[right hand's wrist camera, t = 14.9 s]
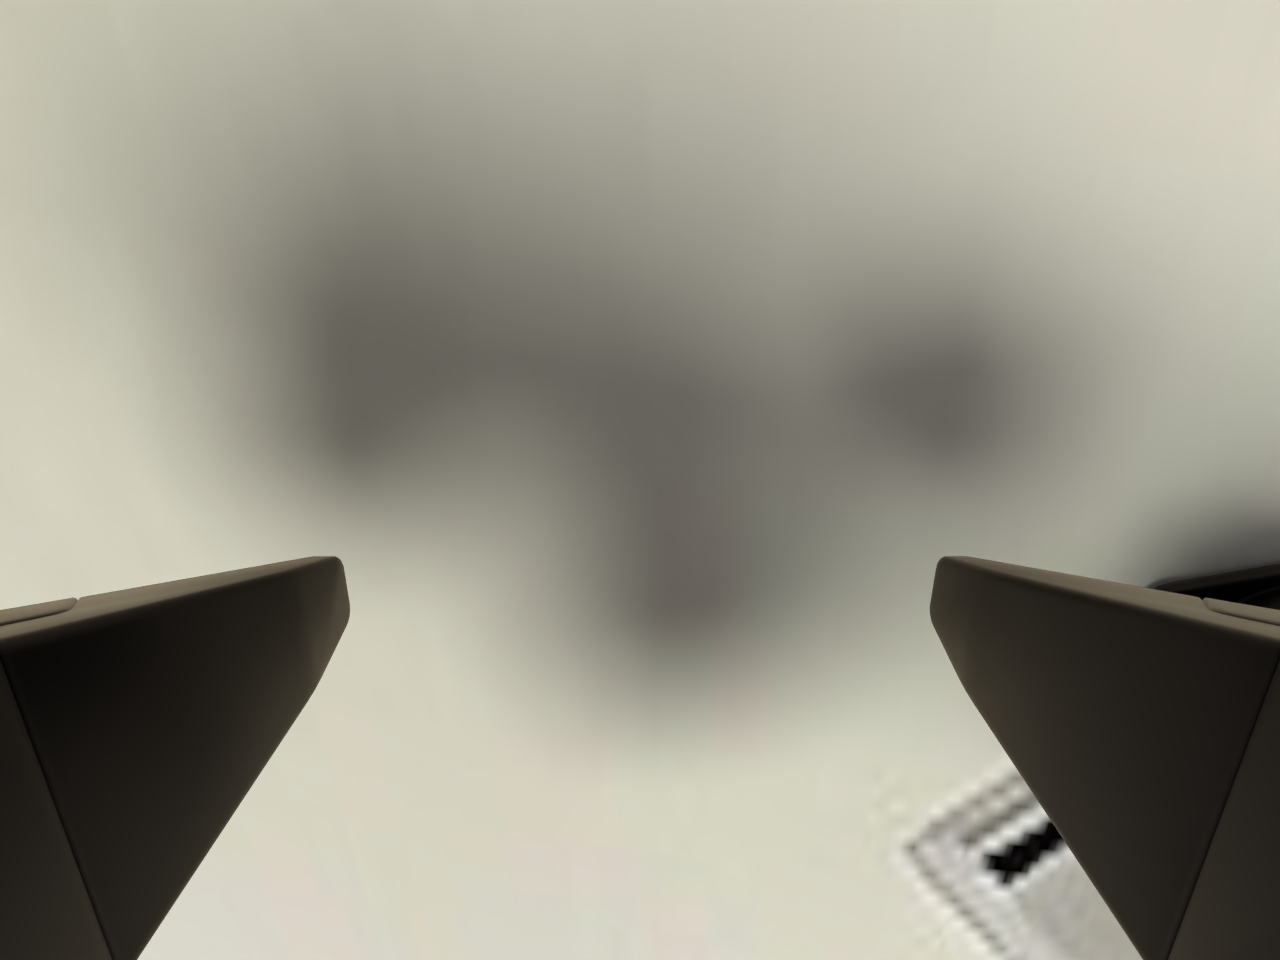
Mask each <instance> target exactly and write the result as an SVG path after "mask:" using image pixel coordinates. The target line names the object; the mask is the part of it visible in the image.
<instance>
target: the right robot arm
mask: <svg viewBox="0 0 1280 960" xmlns="http://www.w3.org/2000/svg"><path fill="white" fill-rule="evenodd" d="M349 616H350V603H349V597H348V591H347V584H346V578H345V572H344V567H343V564H342V562H341V560H340V559H339V558H337V557H335V556H329V557H307V558H301V559H296V560H290V561H284V562H279V563H273V564H267V565H262V566H256V567H250V568H245V569H239V570H233V571H228V572H222V573H216V574H211V575H205V576H199V577H194V578H188V579H182V580H177V581H171V582H165V583H160V584H154V585H148V586H143V587H137V588H131V589H126V590H120V591H114V592H108V593H103V594H97V595H91V596H86V597H81V598H80V599H79V600H77V599H76V598H69V599H63V600H57V601H51V602H46V603H40V604H34V605H28V606H22V607H16V608H10V609H5V610H0V960H137V959H138V957H139V956H140V954H141V953H142V951H143V950H144V948H145V947H146V945H147V944H148V942H149V941H150V939H151V938H152V936H153V935H154V933H155V932H156V930H157V929H158V927H159V926H160V924H161V923H162V921H163V920H164V918H165V917H166V915H167V913H168V912H169V910H170V909H171V907H172V906H173V904H174V903H175V901H176V900H177V898H178V897H179V895H180V894H181V892H182V891H183V889H184V888H185V886H186V885H187V883H188V882H189V880H190V879H191V877H192V876H193V874H194V873H195V871H196V870H197V868H198V867H199V865H200V864H201V862H202V861H203V859H204V857H205V856H206V854H207V853H208V851H209V850H210V848H211V847H212V845H213V844H214V842H215V841H216V839H217V838H218V836H219V835H220V833H221V832H222V830H223V829H224V827H225V826H226V824H227V823H228V821H229V820H230V818H231V817H232V815H233V814H234V812H235V811H236V809H237V808H238V806H239V805H240V803H241V802H242V800H243V798H244V797H245V795H246V794H247V792H248V791H249V789H250V788H251V786H252V785H253V783H254V782H255V780H256V779H257V777H258V776H259V774H260V773H261V771H262V770H263V768H264V767H265V765H266V764H267V762H268V761H269V759H270V758H271V756H272V755H273V753H274V752H275V750H276V749H277V747H278V746H279V744H280V743H281V741H282V739H283V738H284V736H285V735H286V733H287V732H288V730H289V729H290V727H291V726H292V724H293V723H294V721H295V720H296V718H297V717H298V715H299V714H300V712H301V711H302V709H303V708H304V706H305V705H306V703H307V702H308V700H309V698H310V697H311V695H312V694H313V692H314V690H315V689H316V687H317V685H318V683H319V681H320V679H321V677H322V675H323V673H324V671H325V669H326V667H327V665H328V663H329V661H330V659H331V657H332V655H333V653H334V651H335V648H336V646H337V644H338V642H339V640H340V638H341V636H342V634H343V632H344V630H345V628H346V626H347V623H348V620H349ZM930 616H931V620H932V623H933V626H934V628H935V630H936V632H937V634H938V636H939V638H940V640H941V642H942V644H943V646H944V648H945V651H946V653H947V655H948V657H949V659H950V661H951V663H952V665H953V667H954V669H955V671H956V673H957V675H958V677H959V679H960V681H961V683H962V685H963V687H964V689H965V690H966V692H967V693H968V695H969V697H970V698H971V700H972V702H973V703H974V705H975V706H976V708H977V709H978V711H979V712H980V714H981V715H982V717H983V718H984V720H985V721H986V723H987V724H988V726H989V727H990V729H991V730H992V732H993V733H994V735H995V736H996V738H997V739H998V741H999V742H1000V744H1001V745H1002V747H1003V748H1004V750H1005V752H1006V753H1007V755H1008V756H1009V758H1010V759H1011V761H1012V762H1013V764H1014V765H1015V767H1016V768H1017V770H1018V771H1019V773H1020V774H1021V776H1022V777H1023V779H1024V780H1025V782H1026V783H1027V785H1028V786H1029V788H1030V789H1031V791H1032V792H1033V794H1034V795H1035V797H1036V798H1037V800H1038V801H1039V803H1040V804H1041V806H1042V807H1043V809H1044V810H1045V812H1046V813H1047V815H1048V816H1049V818H1050V820H1051V821H1052V823H1053V824H1054V826H1055V827H1056V829H1057V830H1058V832H1059V833H1060V835H1061V836H1062V838H1063V839H1064V841H1065V842H1066V844H1067V845H1068V847H1069V848H1070V850H1071V851H1072V853H1073V854H1074V856H1075V857H1076V859H1077V860H1078V862H1079V863H1080V865H1081V866H1082V868H1083V869H1084V871H1085V873H1086V874H1087V876H1088V877H1089V879H1090V880H1091V882H1092V883H1093V885H1094V886H1095V888H1096V889H1097V891H1098V892H1099V894H1100V895H1101V897H1102V898H1103V900H1104V901H1105V903H1106V904H1107V906H1108V907H1109V909H1110V910H1111V912H1112V913H1113V915H1114V916H1115V918H1116V919H1117V921H1118V922H1119V924H1120V926H1121V927H1122V929H1123V930H1124V932H1125V933H1126V935H1127V936H1128V938H1129V939H1130V941H1131V942H1132V944H1133V945H1134V947H1135V948H1136V950H1137V951H1138V953H1139V954H1140V956H1141V957H1142V959H1143V960H1280V564H1278V565H1272V566H1266V567H1260V568H1254V569H1249V570H1243V571H1237V572H1231V573H1226V574H1220V575H1214V576H1208V577H1202V578H1197V579H1191V580H1185V581H1179V582H1173V583H1168V584H1164V585H1161V586H1158V587H1157V588H1155V589H1149V588H1144V587H1138V586H1132V585H1127V584H1121V583H1115V582H1110V581H1104V580H1098V579H1092V578H1087V577H1081V576H1075V575H1070V574H1064V573H1058V572H1053V571H1047V570H1041V569H1036V568H1030V567H1024V566H1019V565H1013V564H1007V563H1001V562H996V561H990V560H984V559H979V558H973V557H964V556H945V557H943V558H941V559H940V560H939V562H938V564H937V567H936V572H935V578H934V585H933V591H932V597H931V603H930Z"/></svg>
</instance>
